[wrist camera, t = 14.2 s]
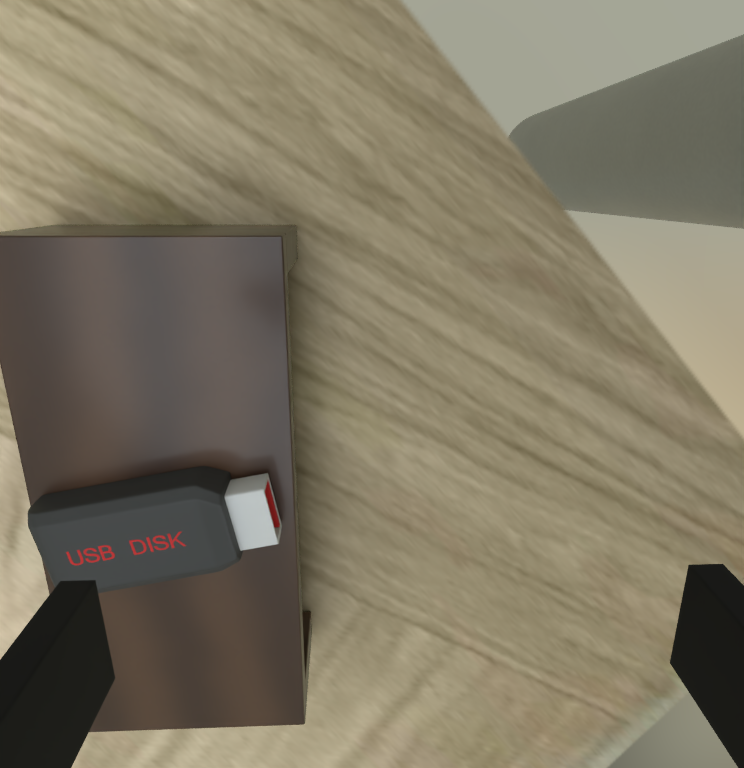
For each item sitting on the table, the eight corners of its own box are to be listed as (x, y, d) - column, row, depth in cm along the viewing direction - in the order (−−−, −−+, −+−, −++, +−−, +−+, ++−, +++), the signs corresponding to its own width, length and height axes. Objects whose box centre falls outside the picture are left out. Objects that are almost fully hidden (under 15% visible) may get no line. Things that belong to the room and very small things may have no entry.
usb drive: (40, 494, 30) (12, 523, 28) (264, 454, 30) (256, 479, 28) (74, 576, 32) (51, 610, 30) (286, 538, 32) (281, 569, 29)
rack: (296, 224, 34) (282, 235, 27) (311, 632, 44) (304, 725, 36) (55, 224, 34) (-28, 235, 26) (125, 638, 43) (78, 733, 36)
